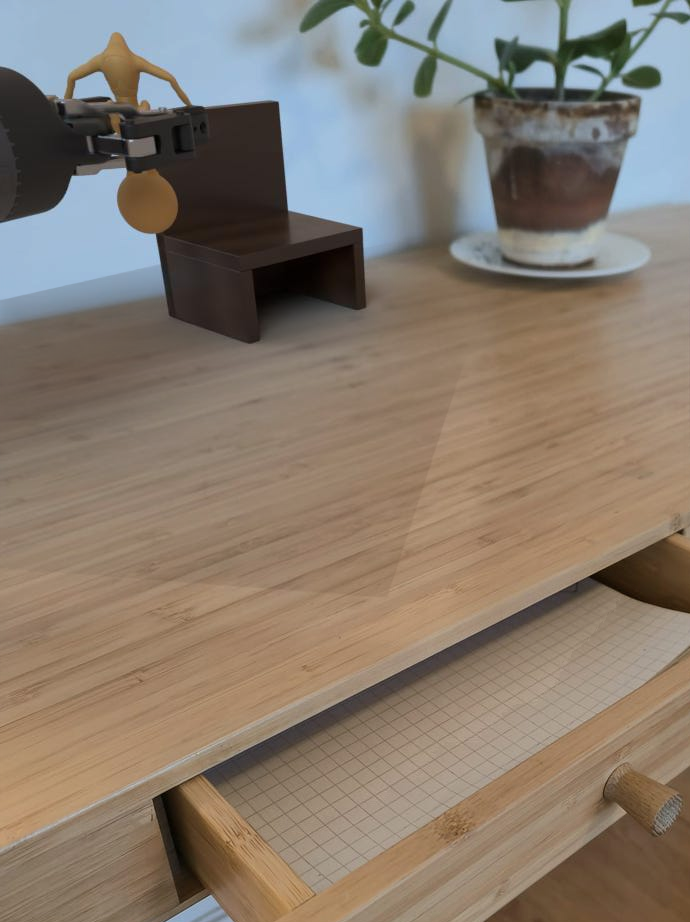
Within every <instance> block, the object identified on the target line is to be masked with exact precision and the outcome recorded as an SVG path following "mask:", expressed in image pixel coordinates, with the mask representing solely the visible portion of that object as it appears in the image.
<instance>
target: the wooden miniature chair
mask: <svg viewBox="0 0 690 922" xmlns="http://www.w3.org/2000/svg"><path fill="white" fill-rule="evenodd" d="M203 107H204V108H205V110H206V113H207V117H208V125H209V133H210V138H209V141H208V143H207V144H204V145H199V146H195V154H196V159H192V160H191V161H188V162H185V161H184V162H180V163H176V164H172V165H168V166H164V167H160V168H156V171H157V172H158V173H159V175H160V176H161V177H163V178H164V179H165V180H166V181H167V182H168V183H169V184H170V185H171V187H172V188H173V190H174V192H175V194H176V197H177V202H178V211H177V216H176V218H175V220H174V222H173V224H172V225H171V226H170V227H169V228H168V229H166V230H165V231H163V232H160V233H157V234H155V240H156V245H157V250H158V256H159V263H160V268H161V275H162V281H163V287H164V293H165V300H166V305H167V311H168V316H169V317H171V318H175V319H178V320H181V321H184V322H186V323H190V324H193V325H194V326H198V327H200V328H201V327H202V328H204V329H206V330H210V331H212V332H215V333H218V334H221V335H224V336H227V337H230V338H232V339H235V340H238V341H241V342H244V343H246V344H251V343H255V342H258V341H260V339H261V338H260V329H259V321H258V312H257V311H258V310H257V303H256V298H257V297H260V296H264V295H268V294H272V293H276V292H278V291H282V290H288V291H292V292H296V293H299V294H303V295H306V296H309V297H313V298H316V299H320V300H323V301H326V302H329V303H333V304H336V305H339V306H343V307H346V308H350V309H354V310H357V311H358V310H362V309H364V308H366V307H367V299H366V296H367V295H366V293H367V292H366V278H365V277H366V273H365V251H364V228H363V227H361V226H356V225H352V224H347V223H345V222H340V221H335V220H330V219H326V218H323V217H318V216H314V215H310V214H305V213H301V212H296V211H293V210H289V205H288V204H289V203H288V191H287V180H286V169H285V157H284V145H283V133H282V121H281V112H280V102H279V101H278V100H271V99H268V100H258V101H247V102H239V103H230V104H219V105H209V106H203Z"/></svg>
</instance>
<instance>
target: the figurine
mask: <svg viewBox="0 0 690 922" xmlns="http://www.w3.org/2000/svg"><path fill="white" fill-rule="evenodd" d="M96 73H102V74H103V77H104V79H105V81H106V83H107V85H108V86H109V89H110V92H111V93H112V94H113V97H114V100H115V101H114V100H113V99H112V100H108V101H107V102H126V103H129V104H132V105H134V106H135V107H136V109H137V110H151V104H150V102H149V101H148V100H146V99H142V100H141V101H140V104H139V100H138V92H139V83H140V79H141V73H143V74H147V75H150V76H152V77H155V78H156V79H159V80H162V81H165V82H168V83H169V84H170V87H171V88H172V90H173V91H174V92H175V94H176V95H177V97H178V99H180V101H181V102H182V103H183V104H184V105H185V106H190V105H193V104H192V102H191V101H190V98H189V97H188V95H187V94H186V92H184V90H183V89H182V88H181V86H180V85H179V82H178V81H177V79H176V78H175V76H174V75H173V74H172V73H170V72H169V71H167V70H165V69H163V68H162V67H160V66H159V65H155V64H154V63H151V62H150V61H149V60H147V59H146V58H144V57H142V56H140V55H138V54H136V53H134V52H133V51H132V50H131V49H130V48H129V46H128V44H127V41H126V40H125V37H124V36H123V35H122V34H121V33H120V32H118V31H114V32H112V33H111V35H110V37H109V40H108V43H107V44H106V47H105V48H104V50H103V51H102V52H101V53H99V54H97V55H95V56H93V57H91V58H90V59H89V60H88V61H87V62H86V63H84V64H81V65H80V66H77V67H76V68H74V69H73V70H71V72H70V73H69V74H68V76H67V78H66V89H65V92H64V95H63V99H74V91H75V89H76V81H79V80H82V79H84V78H86V77H88V76H91V75H93V74H96ZM108 115H109V116H110V119H111V124H112V127H113V129H114V130H115V132H116V133H115V134H120V128H119V123H120V118H119V116H118V115H117V114H108ZM125 174H126V176H125V177H124V178H123V179H122V180H121V182H120V183H119V186H118V189H117V192H116V203H117V204H116V205H117V208H118V211H119V213H120V215H121V217H122V219H123V220H124V221H125V222H126V223H127V224H128V225H129V226H130V227H131V228H132V229H133V230H135V231H137V232H140V233H142V234H147V235H156V234H157V233H160V232H163V231H165V230H166V229H168V228H169V227H170V226H171V225H172V224H173V222H174V220H175V218H176V216H177V211H178V202H177V197H176V194H175V192H174V190H173V188H172V187H171V185H170V184H169V183H168V182H167V181H166V180H165V179H164V178H163V177H161V176H160V175H159V173H158V172H157V171H156V169H152V170H148V171H142V173H139V174H136V173H133V172H131V171H127V170H126V173H125Z"/></svg>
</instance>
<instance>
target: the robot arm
mask: <svg viewBox="0 0 690 922" xmlns="http://www.w3.org/2000/svg"><path fill="white" fill-rule="evenodd" d="M108 100H113V98H111V97H110V96H102V95H98V96H91V97H90V96H89V97H82V98H72V99H64V98H59V96H57V95H56V94H45V93H44V92H43V91H42V90H41V88H40V87H38V85H36V84H35V82H33V81H32V80H30V79H29V78H28V77H26V75H24V74H22V73H21V72H19V71H16V70H14V69H12V68H9V67H5V66H1V65H0V224H4V223H7V222H11V221H16V220H19V219H20V220H21V219H23V218H28V217H31V216H32V217H33V216H36V215H40V214H44V213H48V212H49V211H51V210H54V209H55V208H56V207H57V206H58V205H59V204H60V203H61V202H62V200H63V199H64V197H65V196H66V194H67V191H68V189H69V186H70V182H71V180H72V178H73V177H84V176H95V175H98V174H99V173H100V172H101V171H102V170H116V169H117V170H118V169H126V172H127V171H131V172H133V173H136V174H139V173H142V171H148V170H152V169H156V168H160V167H164V166H168V165H172V164H176V163H180V162H184V161H185V162H188V161H191V160H192V159H196V154H195V146H199V145H204V144H207V143H208V141H209V138H210V133H209V125H208V117H207V113H206V110H205V108H204V107H205V106H203V105H195V104H192V105H190V106H186V105H185V106H178V107H171V108H167V107H165V106H159V107H158V108H157V109H156V108H155V109H150V110H137V109H136V107H135V106H134V105H132V104H129V103H126V102H116V101H114V102H107V101H108ZM108 114H117V115H118V116H119V118H120V123H119V128H120V134H117V133H116V132H115V130H114V129H113V127H112V124H111V119H110V116H109V115H108Z"/></svg>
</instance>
